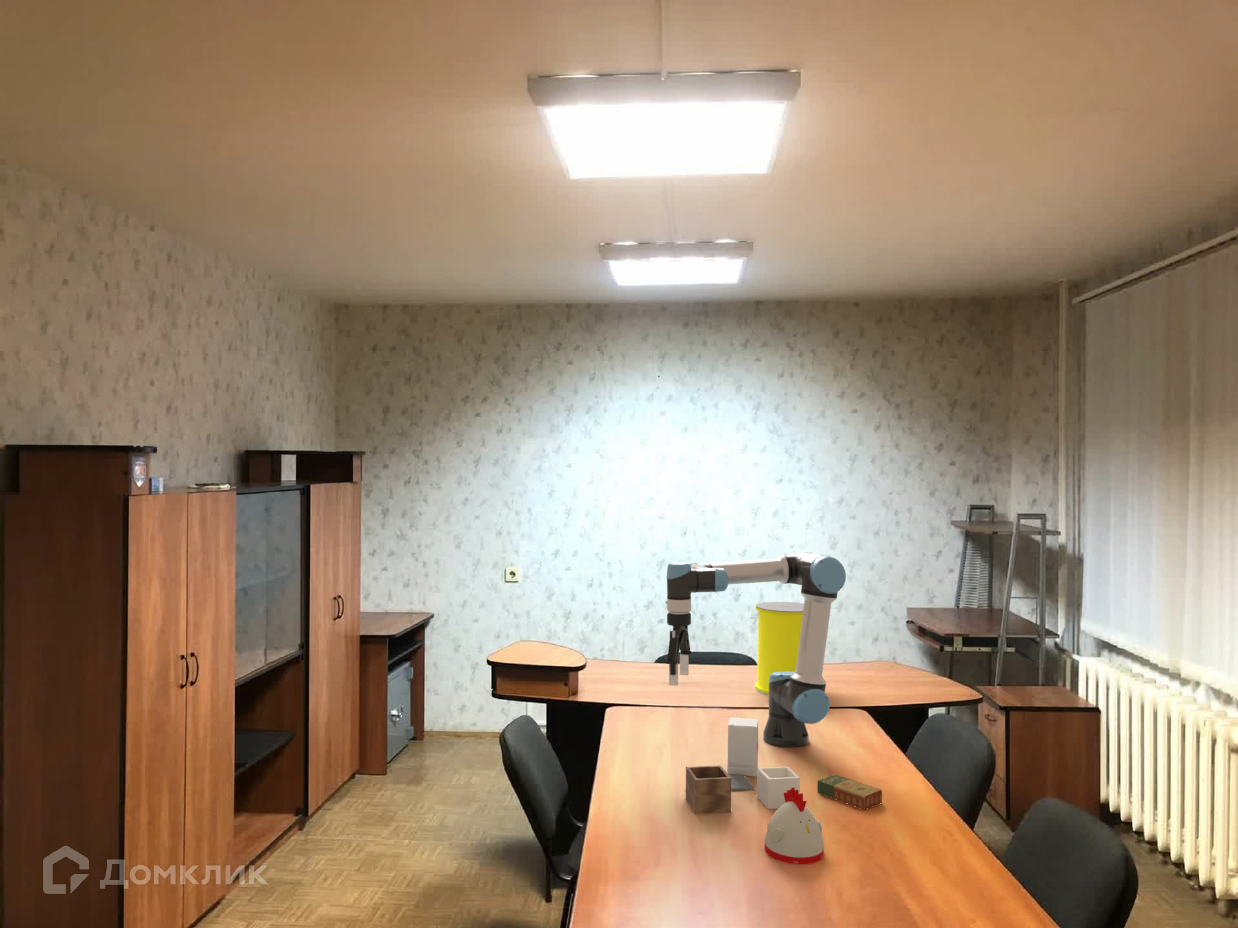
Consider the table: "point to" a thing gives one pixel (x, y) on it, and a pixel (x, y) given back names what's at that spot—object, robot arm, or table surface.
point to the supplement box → (743, 746)
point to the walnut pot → (708, 789)
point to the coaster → (740, 783)
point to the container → (777, 639)
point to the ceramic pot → (775, 785)
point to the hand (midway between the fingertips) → (679, 679)
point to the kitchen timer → (794, 832)
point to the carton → (850, 791)
